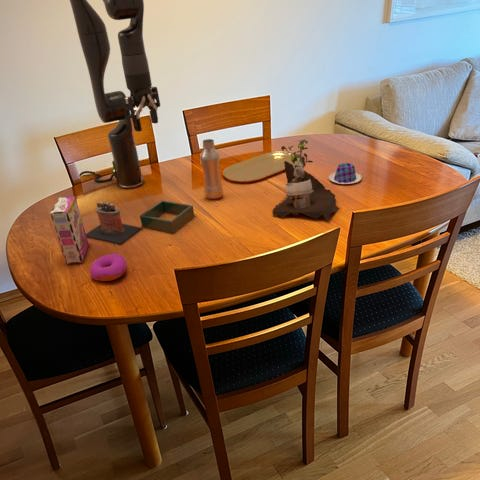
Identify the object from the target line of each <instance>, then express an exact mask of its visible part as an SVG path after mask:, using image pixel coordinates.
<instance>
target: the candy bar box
mask: <svg viewBox="0 0 480 480" xmlns="http://www.w3.org/2000/svg"><path fill="white" fill-rule="evenodd" d="M49 214H50V217H51V220H52V223H53V226H54V229H55V232H56V236H57V238H58V241H59V244H60V247H61V249H62V252H63V256H64V258H65V262H66V264H67V265H69V264H70V265H71V264H82V263H83V262H84V260H85V257H86V253H87V251H88V248H89V244H90V243H89V240H88V237H86V234H87V233H86V231H85V226H84V224H83V220H82V216H81V213H80V210H79V206H78V203H77V199H76V196H73V195H72V196H63V197H59V198H58V199H57V200H56V203H55V204H54V206H53V208H52V209H51V211H50V213H49Z"/></svg>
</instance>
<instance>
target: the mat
mask: <svg viewBox="0 0 480 480" xmlns="http://www.w3.org/2000/svg"><path fill="white" fill-rule="evenodd" d="M122 225H123V228H124V231H125V232H124V233H123V234H108V233H103V232H102V230H101V229H102V227H101V224H99V225H97V226H96V227H94V228H93V229H92V230H90V231H89V232H87V233H86V237H87V238H88V239H89V238H90V239H95V240H98V241H103V242H107V243H112V244H116V245H120V246H121V245H122V244H124V243H126V241H128V240H129V239H130V238H132V237H133V236H135V235H136V234H137V233H138V232H140V231H141V230H143V227H139V226H134V225H130V224H125V223H122Z"/></svg>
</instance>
